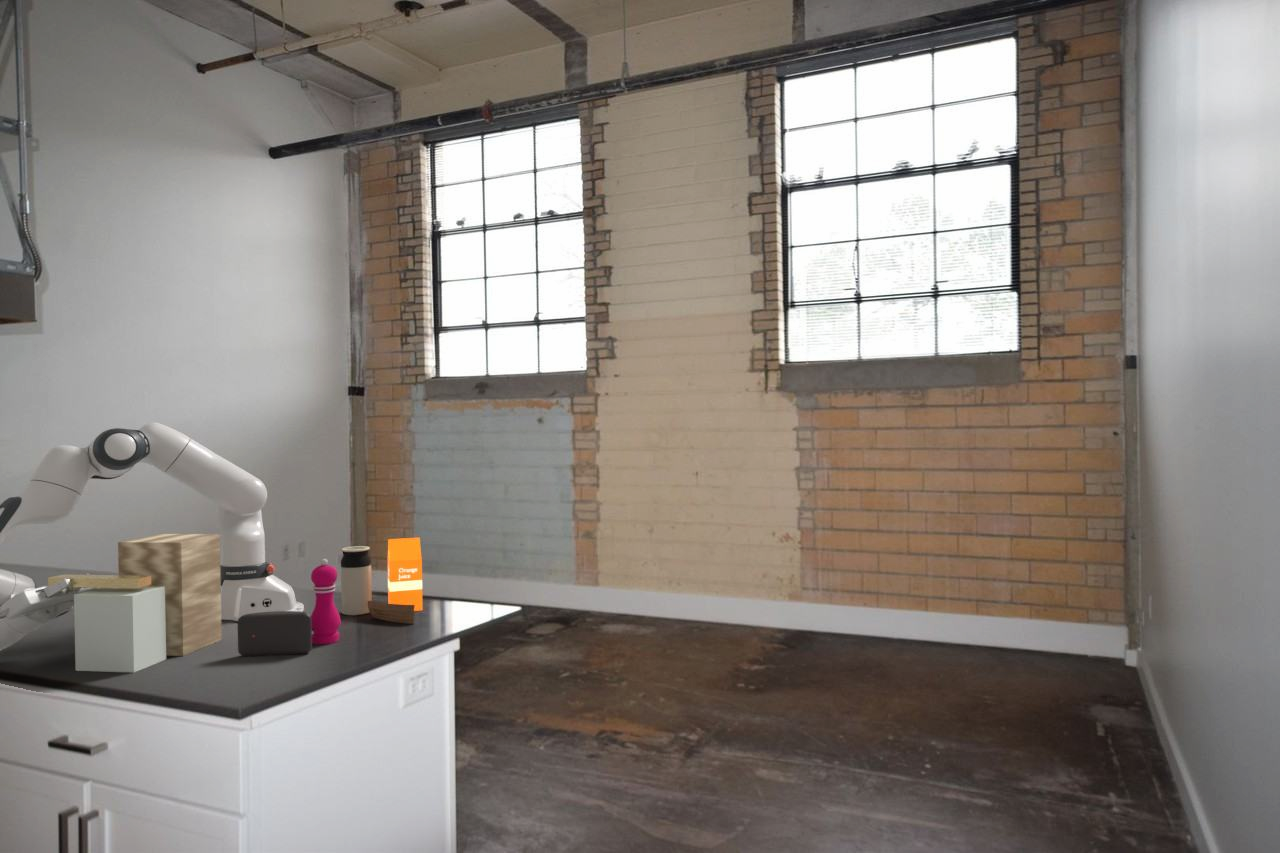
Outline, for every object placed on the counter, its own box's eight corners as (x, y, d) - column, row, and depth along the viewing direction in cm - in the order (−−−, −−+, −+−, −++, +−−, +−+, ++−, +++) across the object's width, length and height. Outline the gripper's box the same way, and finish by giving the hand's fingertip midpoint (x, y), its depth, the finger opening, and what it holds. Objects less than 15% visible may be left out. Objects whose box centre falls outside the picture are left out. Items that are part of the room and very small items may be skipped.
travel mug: (372, 614, 235) (371, 549, 235) (342, 617, 232) (341, 551, 232) (370, 608, 242) (369, 545, 242) (341, 611, 239) (339, 547, 239)
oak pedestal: (120, 654, 198) (118, 542, 197) (162, 638, 212) (160, 533, 211) (183, 655, 195) (181, 542, 195) (221, 640, 209) (219, 534, 209)
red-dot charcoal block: (316, 649, 200) (315, 609, 200) (310, 654, 195) (310, 613, 195) (244, 652, 198) (243, 611, 198) (236, 657, 194) (236, 616, 194)
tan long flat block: (48, 586, 189) (47, 577, 189) (62, 583, 193) (62, 574, 193) (138, 588, 186) (138, 579, 186) (151, 584, 190) (151, 575, 190)
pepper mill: (307, 646, 202) (306, 562, 202) (311, 638, 209) (309, 557, 209) (340, 643, 204) (338, 560, 204) (342, 636, 211) (340, 555, 211)
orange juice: (388, 607, 243) (386, 537, 243) (419, 604, 246) (418, 535, 246) (390, 613, 236) (389, 541, 236) (423, 610, 239) (421, 539, 239)
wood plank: (417, 623, 224) (417, 604, 224) (412, 625, 222) (412, 605, 222) (372, 618, 231) (372, 599, 231) (367, 619, 229) (366, 601, 229)
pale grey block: (75, 670, 185) (74, 594, 185) (110, 657, 195) (109, 585, 195) (134, 672, 183) (132, 595, 183) (166, 659, 193) (164, 586, 193)
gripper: (-17, 606, 182) (32, 575, 180) (61, 587, 202) (106, 559, 200) (-3, 632, 181) (46, 601, 180) (73, 610, 202) (119, 582, 200)
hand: (78, 578), depth 190 cm, fingers closed on tan long flat block, 4 cm apart
